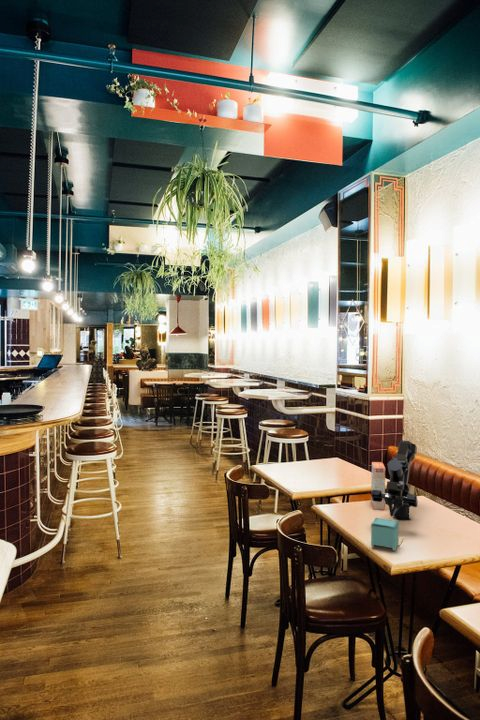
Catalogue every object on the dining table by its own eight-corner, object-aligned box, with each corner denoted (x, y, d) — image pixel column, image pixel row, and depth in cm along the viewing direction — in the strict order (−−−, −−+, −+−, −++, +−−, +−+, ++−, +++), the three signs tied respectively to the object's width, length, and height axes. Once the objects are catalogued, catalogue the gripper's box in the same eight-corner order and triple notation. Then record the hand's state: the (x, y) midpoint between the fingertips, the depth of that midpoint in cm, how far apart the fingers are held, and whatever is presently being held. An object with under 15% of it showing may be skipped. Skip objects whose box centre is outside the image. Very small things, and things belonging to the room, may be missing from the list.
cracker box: (385, 510, 239) (385, 468, 239) (372, 509, 240) (373, 467, 240) (382, 502, 253) (383, 461, 253) (370, 501, 254) (371, 461, 254)
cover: (375, 539, 199) (375, 517, 199) (398, 543, 195) (398, 521, 195) (371, 546, 192) (371, 523, 192) (394, 550, 188) (395, 527, 188)
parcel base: (378, 534, 207) (378, 532, 207) (403, 538, 202) (403, 536, 202) (373, 542, 198) (373, 540, 198) (399, 547, 193) (399, 544, 193)
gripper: (372, 471, 214) (366, 503, 204) (417, 476, 205) (413, 509, 196) (375, 484, 221) (370, 516, 211) (419, 490, 213) (415, 523, 203)
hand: (391, 516), depth 205 cm, fingers closed
